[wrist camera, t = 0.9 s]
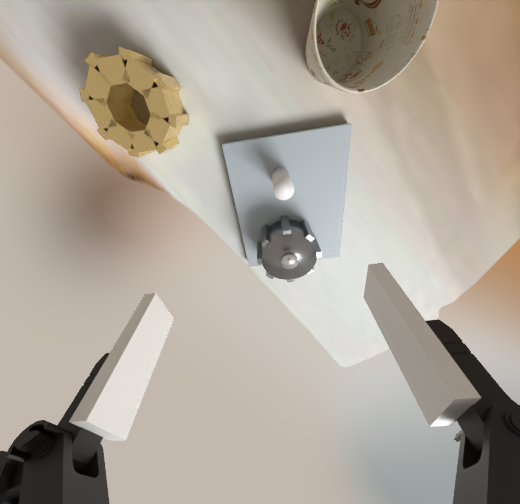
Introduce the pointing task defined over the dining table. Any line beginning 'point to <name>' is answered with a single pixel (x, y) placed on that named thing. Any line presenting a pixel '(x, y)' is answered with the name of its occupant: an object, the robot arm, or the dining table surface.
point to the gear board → (306, 176)
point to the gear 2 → (288, 249)
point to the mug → (365, 40)
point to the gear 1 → (120, 97)
